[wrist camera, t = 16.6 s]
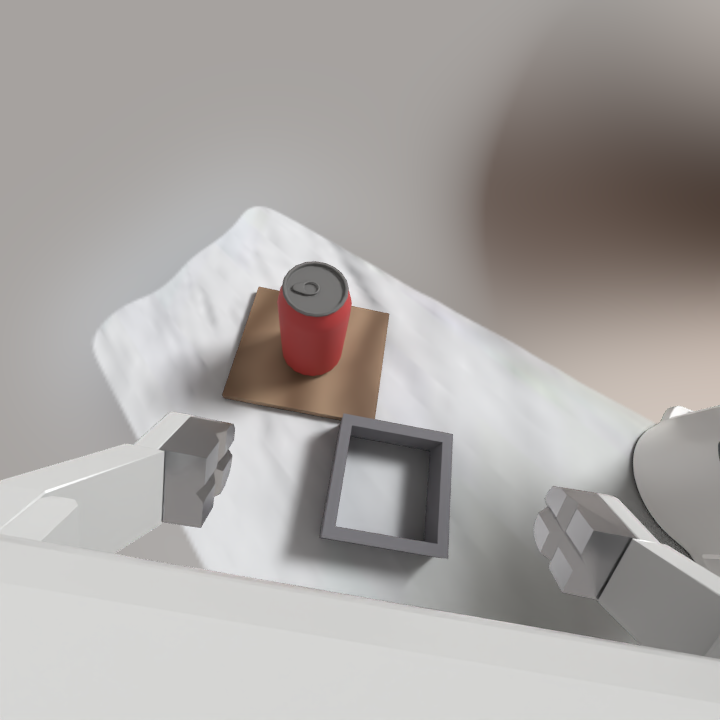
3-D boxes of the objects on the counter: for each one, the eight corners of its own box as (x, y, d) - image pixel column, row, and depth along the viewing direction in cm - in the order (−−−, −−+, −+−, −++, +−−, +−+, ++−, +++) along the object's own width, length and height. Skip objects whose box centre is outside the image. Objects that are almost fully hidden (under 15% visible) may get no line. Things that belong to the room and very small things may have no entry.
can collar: (439, 443, 41) (452, 434, 37) (433, 556, 36) (447, 558, 32) (339, 424, 40) (343, 413, 36) (319, 537, 35) (321, 537, 32)
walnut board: (387, 318, 47) (389, 313, 46) (372, 426, 40) (374, 423, 40) (259, 291, 46) (258, 286, 45) (223, 398, 40) (222, 394, 39)
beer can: (282, 325, 43) (276, 254, 32) (340, 326, 44) (352, 257, 33) (281, 378, 40) (274, 319, 30) (342, 378, 41) (357, 321, 31)
